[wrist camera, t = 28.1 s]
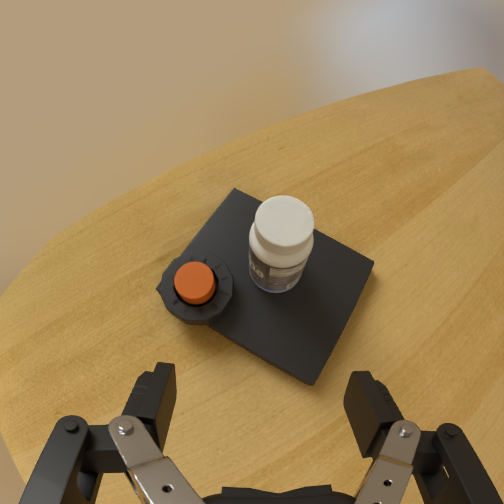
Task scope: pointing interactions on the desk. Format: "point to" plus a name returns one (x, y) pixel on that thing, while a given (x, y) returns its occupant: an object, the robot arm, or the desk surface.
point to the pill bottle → (280, 243)
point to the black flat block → (270, 293)
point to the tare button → (195, 282)
